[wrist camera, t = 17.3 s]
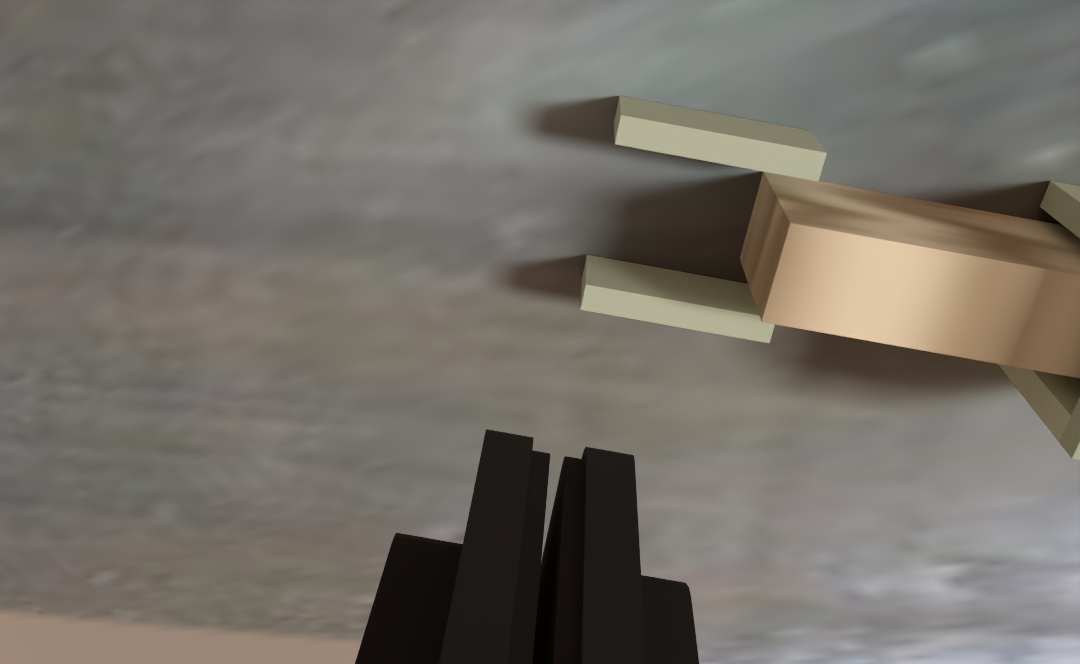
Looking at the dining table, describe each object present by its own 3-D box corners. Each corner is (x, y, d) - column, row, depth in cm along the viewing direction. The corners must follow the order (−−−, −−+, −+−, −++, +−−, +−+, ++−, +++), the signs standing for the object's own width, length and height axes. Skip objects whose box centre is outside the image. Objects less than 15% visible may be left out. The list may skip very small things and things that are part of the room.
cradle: (582, 278, 39) (580, 309, 36) (619, 95, 36) (620, 115, 33) (757, 309, 39) (769, 343, 37) (809, 130, 36) (826, 152, 33)
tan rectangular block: (738, 256, 39) (761, 321, 33) (762, 169, 37) (790, 222, 32) (1092, 320, 39) (1172, 394, 33) (1130, 236, 37) (1220, 300, 32)
